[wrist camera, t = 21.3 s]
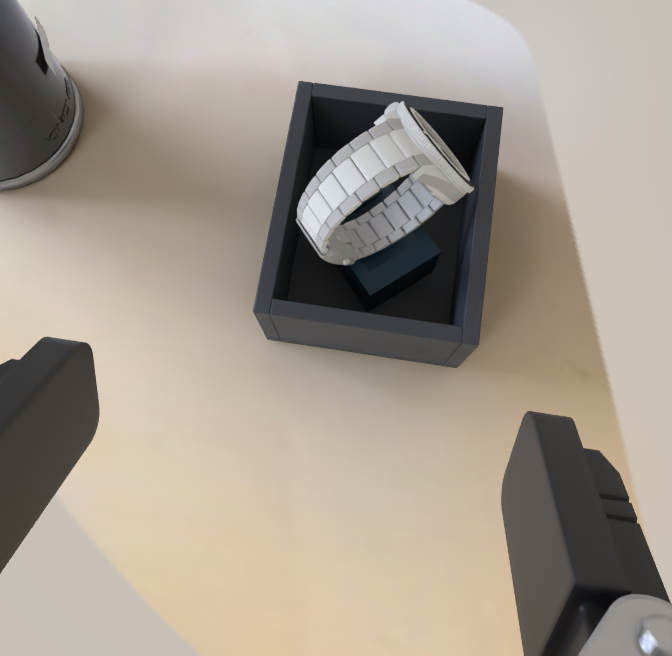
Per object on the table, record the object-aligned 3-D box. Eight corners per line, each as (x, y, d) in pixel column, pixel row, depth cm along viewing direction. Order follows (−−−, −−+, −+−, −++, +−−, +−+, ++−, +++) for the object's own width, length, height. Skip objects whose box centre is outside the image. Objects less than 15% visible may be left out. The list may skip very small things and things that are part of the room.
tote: (266, 339, 34) (252, 311, 29) (304, 138, 37) (298, 80, 32) (456, 368, 34) (478, 345, 28) (479, 162, 37) (503, 107, 31)
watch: (461, 254, 35) (513, 152, 24) (340, 329, 34) (339, 257, 23) (405, 178, 36) (431, 49, 25) (287, 248, 35) (263, 144, 24)
